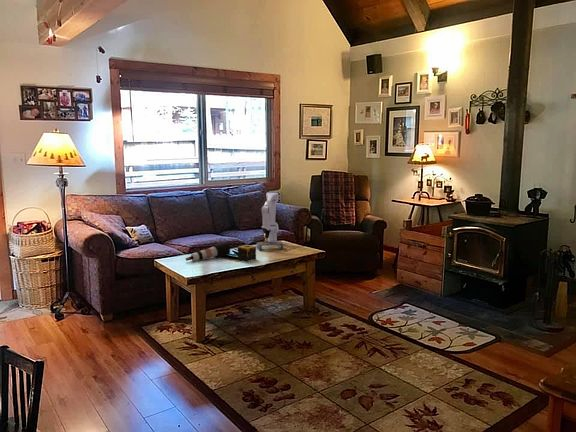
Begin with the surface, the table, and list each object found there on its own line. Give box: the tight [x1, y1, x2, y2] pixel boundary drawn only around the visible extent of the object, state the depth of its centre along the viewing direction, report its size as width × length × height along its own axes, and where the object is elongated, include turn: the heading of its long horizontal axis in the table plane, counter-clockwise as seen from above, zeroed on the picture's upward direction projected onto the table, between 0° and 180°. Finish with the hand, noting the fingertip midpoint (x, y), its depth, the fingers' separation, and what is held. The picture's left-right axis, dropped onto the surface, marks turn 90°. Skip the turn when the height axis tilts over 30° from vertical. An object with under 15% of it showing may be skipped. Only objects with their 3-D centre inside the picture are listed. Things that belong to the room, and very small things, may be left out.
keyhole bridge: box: [256, 240, 284, 252], centre depth 390 cm, size 10×20×5 cm, turn 106°
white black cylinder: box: [185, 241, 231, 262], centre depth 357 cm, size 10×34×10 cm, turn 128°
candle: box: [237, 244, 257, 262], centre depth 354 cm, size 10×10×10 cm
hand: (266, 237), depth 388 cm, fingers closed on peg, 4 cm apart
